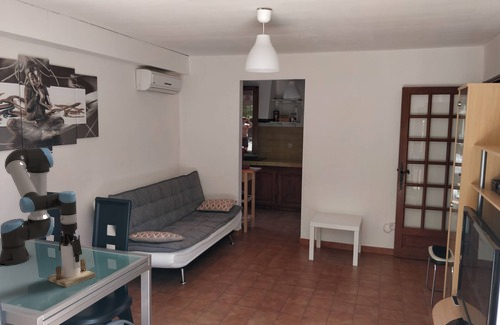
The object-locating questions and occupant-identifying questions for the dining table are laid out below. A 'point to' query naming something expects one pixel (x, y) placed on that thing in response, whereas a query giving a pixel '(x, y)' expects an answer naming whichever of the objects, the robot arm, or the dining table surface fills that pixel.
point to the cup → (68, 262)
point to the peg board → (71, 281)
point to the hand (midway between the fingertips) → (71, 266)
